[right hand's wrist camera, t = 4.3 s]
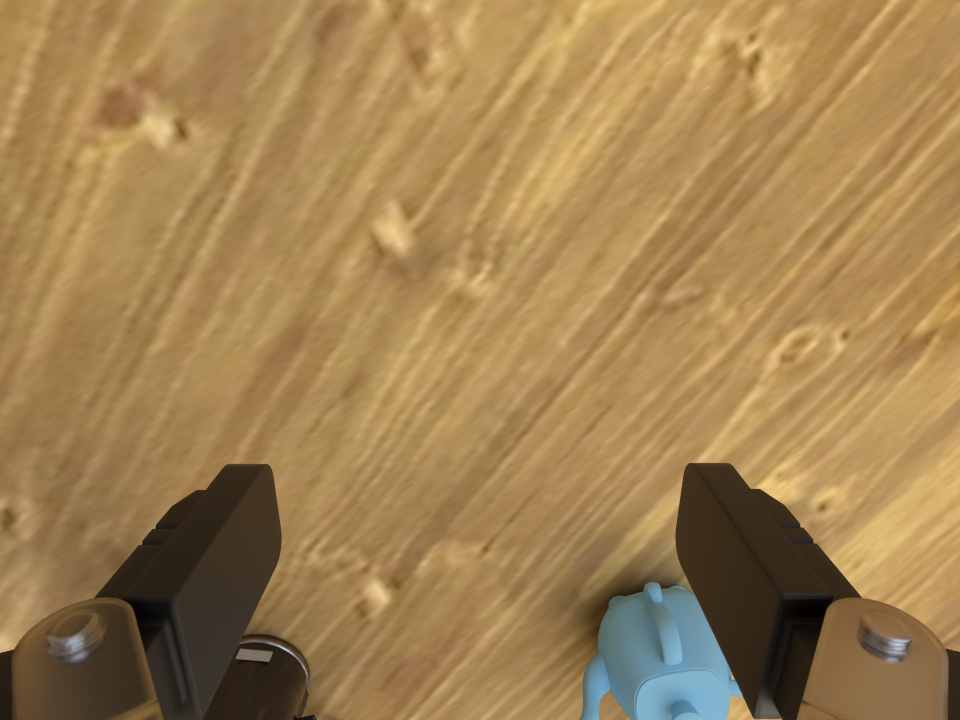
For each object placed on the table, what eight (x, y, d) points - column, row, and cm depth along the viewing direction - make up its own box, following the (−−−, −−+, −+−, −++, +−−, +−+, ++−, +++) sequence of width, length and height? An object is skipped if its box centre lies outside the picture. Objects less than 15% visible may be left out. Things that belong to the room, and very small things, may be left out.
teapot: (739, 608, 57) (802, 708, 46) (643, 700, 60) (681, 814, 50) (643, 544, 55) (686, 634, 44) (548, 643, 58) (566, 750, 47)
